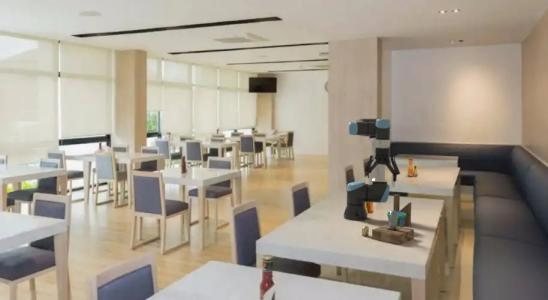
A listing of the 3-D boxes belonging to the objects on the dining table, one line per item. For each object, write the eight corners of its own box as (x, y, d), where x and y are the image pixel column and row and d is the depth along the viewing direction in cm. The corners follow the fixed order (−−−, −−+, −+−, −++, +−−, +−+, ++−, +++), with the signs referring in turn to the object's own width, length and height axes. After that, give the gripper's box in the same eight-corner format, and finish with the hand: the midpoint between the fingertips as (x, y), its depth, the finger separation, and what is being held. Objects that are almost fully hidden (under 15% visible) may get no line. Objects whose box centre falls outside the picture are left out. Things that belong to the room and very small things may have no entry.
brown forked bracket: (408, 226, 268) (409, 196, 267) (391, 223, 275) (392, 194, 274) (410, 225, 271) (411, 195, 269) (394, 222, 278) (395, 193, 276)
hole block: (386, 233, 252) (387, 224, 251) (413, 238, 241) (413, 229, 241) (371, 238, 240) (372, 229, 240) (399, 244, 229) (399, 235, 229)
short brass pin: (364, 234, 249) (364, 225, 249) (369, 235, 246) (369, 226, 246) (360, 235, 246) (360, 226, 246) (366, 237, 244) (366, 227, 243)
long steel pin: (391, 237, 243) (392, 210, 242) (397, 238, 241) (398, 211, 240) (388, 238, 240) (388, 211, 239) (394, 240, 238) (394, 212, 237)
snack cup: (403, 235, 248) (404, 216, 248) (384, 232, 253) (384, 215, 252) (407, 228, 263) (408, 211, 262) (389, 226, 267) (389, 209, 266)
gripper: (358, 146, 249) (358, 184, 251) (400, 149, 233) (399, 189, 235) (365, 145, 255) (365, 182, 257) (407, 148, 238) (406, 187, 240)
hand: (381, 186), depth 246 cm, fingers open, 13 cm apart
